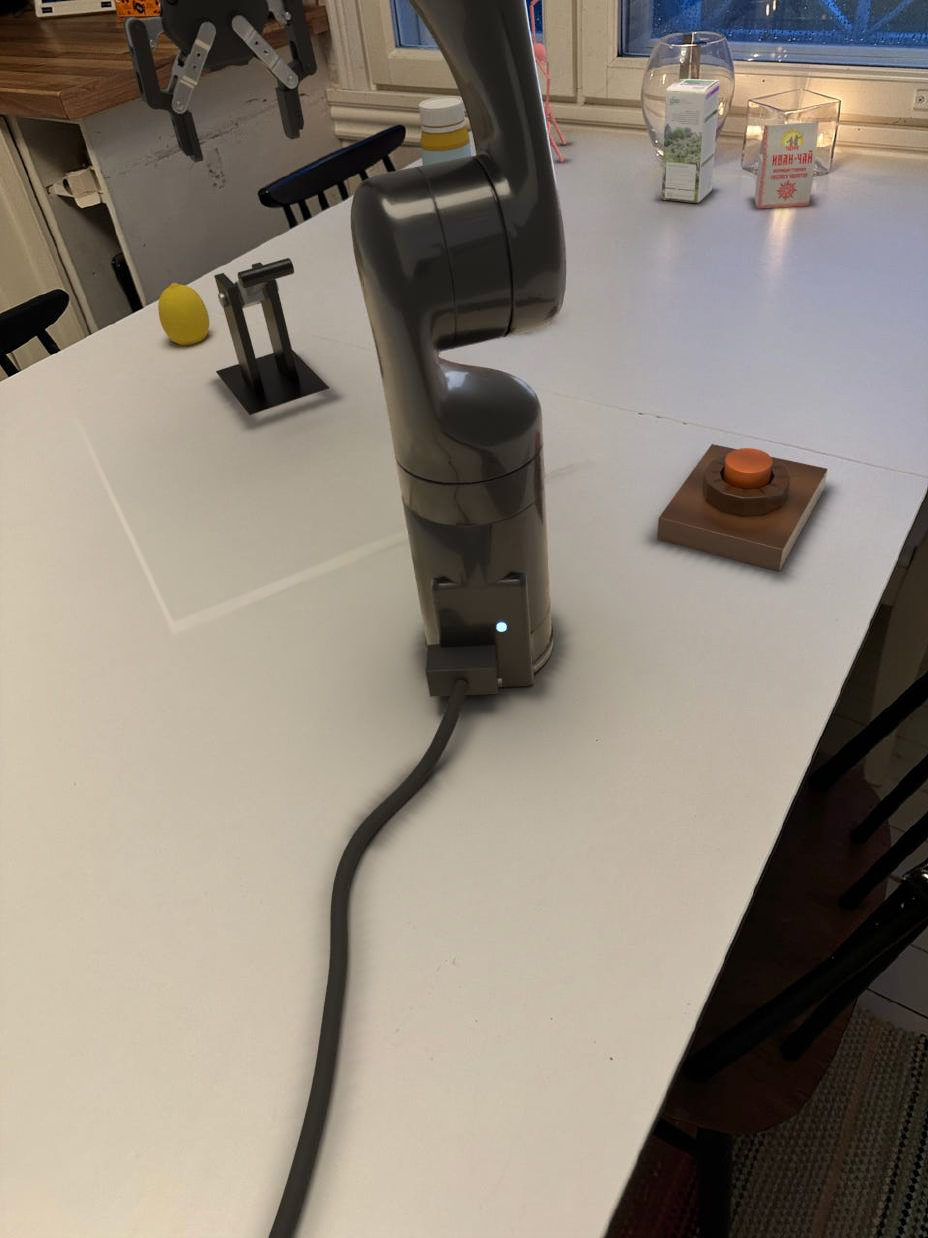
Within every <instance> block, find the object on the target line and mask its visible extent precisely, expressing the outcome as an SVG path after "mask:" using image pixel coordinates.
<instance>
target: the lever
mask: <svg viewBox="0 0 928 1238" xmlns="http://www.w3.org/2000/svg"><path fill="white" fill-rule="evenodd" d="M294 274H295V267H294V263H293V262H292V259H291V258H289V257H287V258H283V259H279V260H275V261H272V262H269V263H267V264H263V265H262V266H258V267H255V268H252V267H251V268H249V269H248V268H247V269H245V270H241V271H238V272H237V279H238V280H236V281H235V282H233V283H234V284H235V285H236V286H237V290H238V293H239V297H240V301H241V305H242V308H243V310H244V309H247V308H250V307H253V306H257V305H261V302H262V301H263V300H264V299H265V297H264V294H263V291H262V288H263V287H264V286H265V285H266V284H267V283H268V282H269V281H271V280H274V279H276V280H279V279H282V278H284V277H288V276H291V275H294Z"/></svg>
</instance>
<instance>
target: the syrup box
mask: <svg viewBox="0 0 928 1238" xmlns="http://www.w3.org/2000/svg"><path fill="white" fill-rule="evenodd" d="M720 88H721V81H720V80H719V79H698V78H697V79H696V78H694V79H693V78H680V79H678V80H676V81H674V82H673V83H671V84H670V85H669V86H668V87H667V88H666V89H665V97H664V98H665V101H664V122H663V123H664V125H663V148H662V149H663V151H662V173H661V200H664V201H671V202H673V201H674V202H681V203H682V202H683V203H693V204H698V203H700V202H701V201H703V199H705V198H706V197H707V196H708V195H709V194H710V193H711V192H712V190H713V183H714V182H713V180H714V164H715V152H716V151H715V150H716V138H717V137H716V136H717V126H718V115H719V101H720V91H721V90H720Z"/></svg>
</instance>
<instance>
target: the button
mask: <svg viewBox="0 0 928 1238" xmlns="http://www.w3.org/2000/svg"><path fill="white" fill-rule="evenodd" d="M736 449H737V448H736ZM771 457H772V456H771ZM771 457H770V454H769V453H768V452H765V450H761V449H758V448H752V447H743V448H738V449H737V450H734V451H732V452H730V453H729V454H728V455H727V456H726V459H725V468H724V480H725V482H726V483H727V484H729V485H730V486H732V487H736V488H740V489H744V490H748V489H760V488H762V487H764V486H766V485H767V484H768V483H769V481H770V475H771V468H772V458H771Z"/></svg>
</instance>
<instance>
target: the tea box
mask: <svg viewBox="0 0 928 1238" xmlns="http://www.w3.org/2000/svg"><path fill="white" fill-rule="evenodd" d="M818 131H819V121H803V122H789V123H774V124H765V125H764V127H763V132H762V137H761V138H762V139H761V143H760V149H759V154H758V161H757V171H756V178H755V179H756V181H755V190H754V196H753V197H754V199H753V200H754V203H755V206H756V208H757V210H760V209H761V210H763V209H776V208H777V209H780V208H793V207H794V208H796V207H809V206H810V200H811V193H812V188H813V187H812V186H813V180H814V174H815V167H816V159H817V146H818V144H817V143H818V134H819V133H818Z"/></svg>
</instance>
